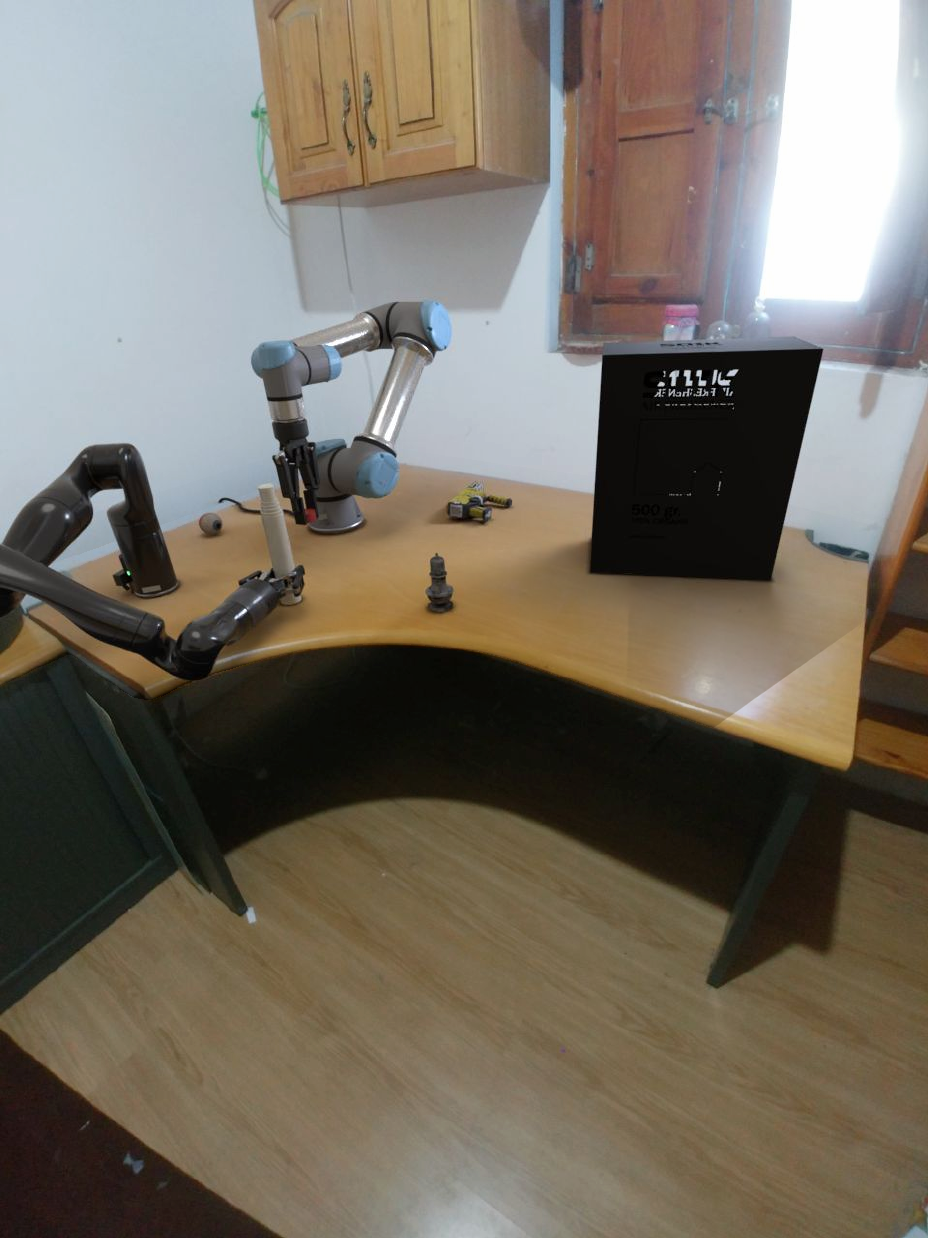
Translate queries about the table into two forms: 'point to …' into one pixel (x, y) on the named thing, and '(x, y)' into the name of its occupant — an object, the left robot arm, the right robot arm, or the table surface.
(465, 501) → the toy gun
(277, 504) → the bottle
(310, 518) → the cap
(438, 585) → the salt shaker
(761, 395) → the cardboard box
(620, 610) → the table surface
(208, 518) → the eyeball
